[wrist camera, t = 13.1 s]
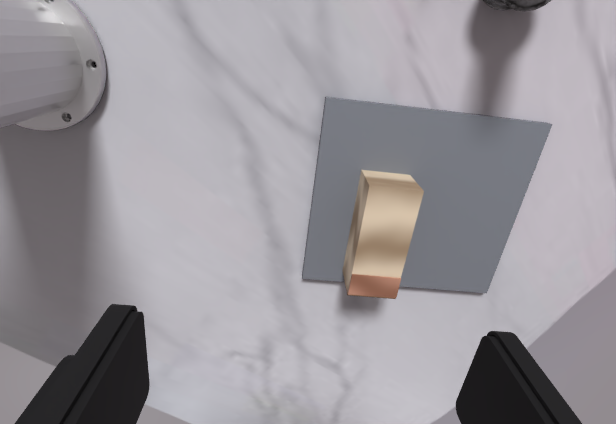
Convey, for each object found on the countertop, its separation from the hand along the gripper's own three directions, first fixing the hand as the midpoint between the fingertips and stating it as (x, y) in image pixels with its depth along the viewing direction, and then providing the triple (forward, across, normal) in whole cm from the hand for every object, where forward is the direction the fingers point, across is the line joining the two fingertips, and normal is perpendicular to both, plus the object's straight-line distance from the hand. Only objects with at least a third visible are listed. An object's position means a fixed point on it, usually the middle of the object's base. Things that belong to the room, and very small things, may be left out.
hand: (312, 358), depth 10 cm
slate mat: (+28, -13, +6) cm, 32 cm away
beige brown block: (+28, -9, +9) cm, 30 cm away
